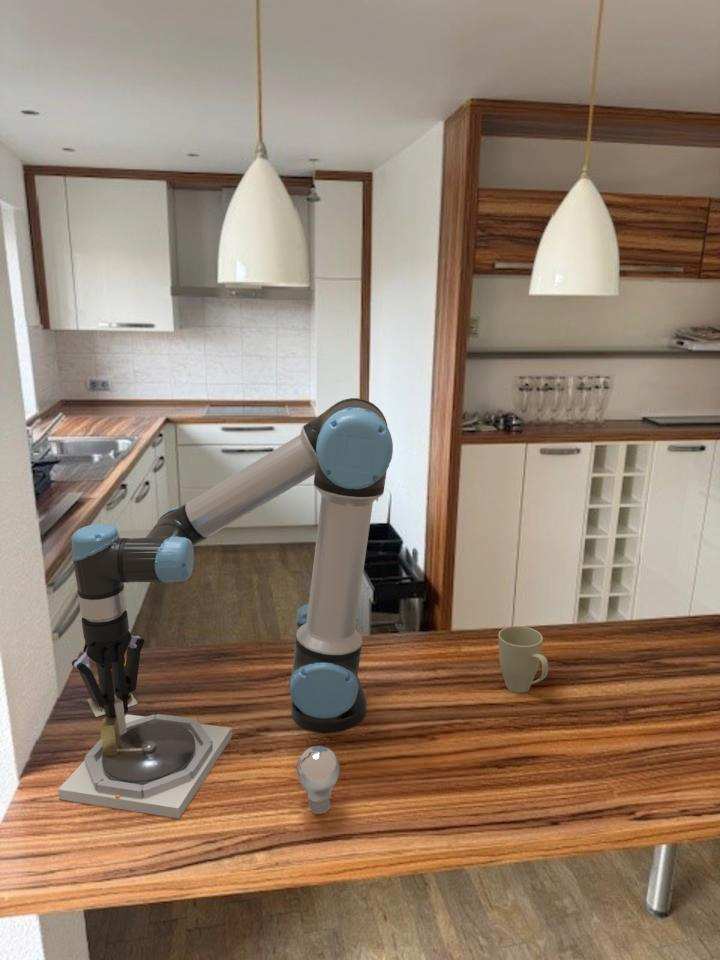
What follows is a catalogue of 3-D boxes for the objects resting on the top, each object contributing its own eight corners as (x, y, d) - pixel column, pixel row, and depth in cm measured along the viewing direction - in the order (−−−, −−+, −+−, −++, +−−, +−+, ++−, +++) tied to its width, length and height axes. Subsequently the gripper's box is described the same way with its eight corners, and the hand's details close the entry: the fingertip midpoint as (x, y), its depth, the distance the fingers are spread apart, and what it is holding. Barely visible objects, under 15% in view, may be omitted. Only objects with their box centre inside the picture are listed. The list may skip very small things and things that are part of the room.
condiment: (138, 704, 148) (132, 652, 145) (96, 717, 143) (89, 664, 140) (127, 688, 154) (122, 637, 150) (87, 701, 149) (80, 649, 146)
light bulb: (298, 799, 120) (295, 737, 117) (340, 796, 120) (338, 734, 117) (298, 830, 113) (295, 765, 110) (342, 826, 114) (340, 762, 111)
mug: (491, 696, 149) (493, 644, 146) (501, 672, 158) (503, 623, 154) (545, 706, 145) (548, 653, 142) (551, 682, 154) (555, 631, 150)
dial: (202, 726, 136) (199, 693, 134) (186, 783, 121) (182, 746, 119) (117, 729, 135) (113, 696, 134) (90, 787, 120) (85, 750, 118)
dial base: (232, 736, 137) (230, 721, 136) (179, 818, 116) (177, 800, 115) (127, 723, 141) (126, 707, 140) (59, 799, 121) (56, 781, 120)
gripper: (126, 594, 131) (139, 707, 137) (57, 619, 121) (75, 739, 128) (149, 606, 126) (161, 722, 132) (79, 633, 117) (96, 757, 123)
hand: (119, 730), depth 130 cm, fingers closed
